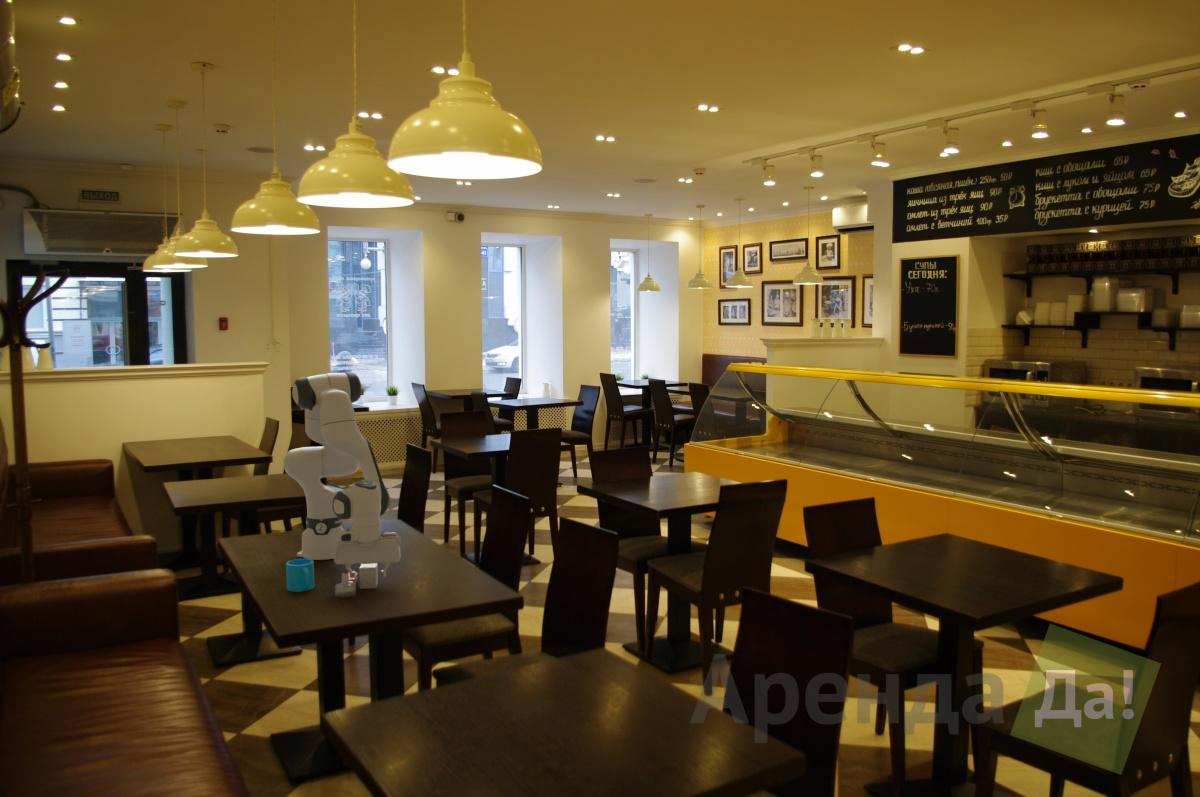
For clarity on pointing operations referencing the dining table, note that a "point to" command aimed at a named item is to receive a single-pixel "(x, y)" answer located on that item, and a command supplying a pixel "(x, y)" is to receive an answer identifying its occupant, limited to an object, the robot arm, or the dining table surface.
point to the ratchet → (346, 586)
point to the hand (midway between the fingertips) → (368, 576)
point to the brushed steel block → (368, 576)
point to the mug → (300, 575)
